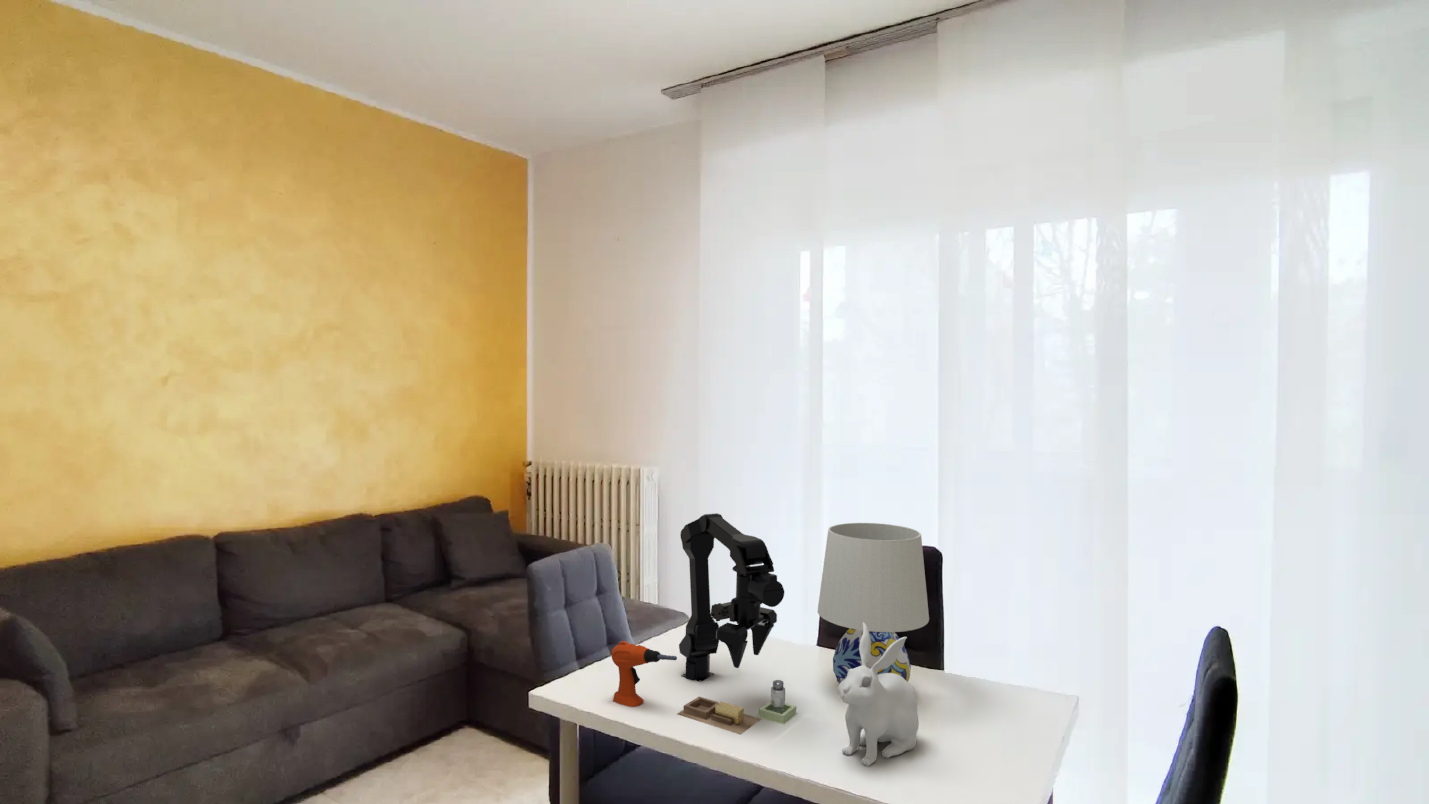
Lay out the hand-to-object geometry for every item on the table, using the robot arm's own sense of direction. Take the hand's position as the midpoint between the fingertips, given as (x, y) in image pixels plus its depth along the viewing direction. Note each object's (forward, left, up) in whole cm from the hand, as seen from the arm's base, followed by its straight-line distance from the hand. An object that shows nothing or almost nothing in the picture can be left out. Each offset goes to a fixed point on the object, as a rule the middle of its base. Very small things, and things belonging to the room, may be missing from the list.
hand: (746, 661), depth 169 cm
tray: (-2, +7, -12) cm, 14 cm away
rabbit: (-1, +31, -12) cm, 34 cm away
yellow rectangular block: (+6, 0, -11) cm, 13 cm away
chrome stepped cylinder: (-2, +7, -11) cm, 14 cm away
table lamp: (-29, +19, -12) cm, 37 cm away
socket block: (+6, -3, -12) cm, 14 cm away
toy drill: (+12, -21, -12) cm, 27 cm away
